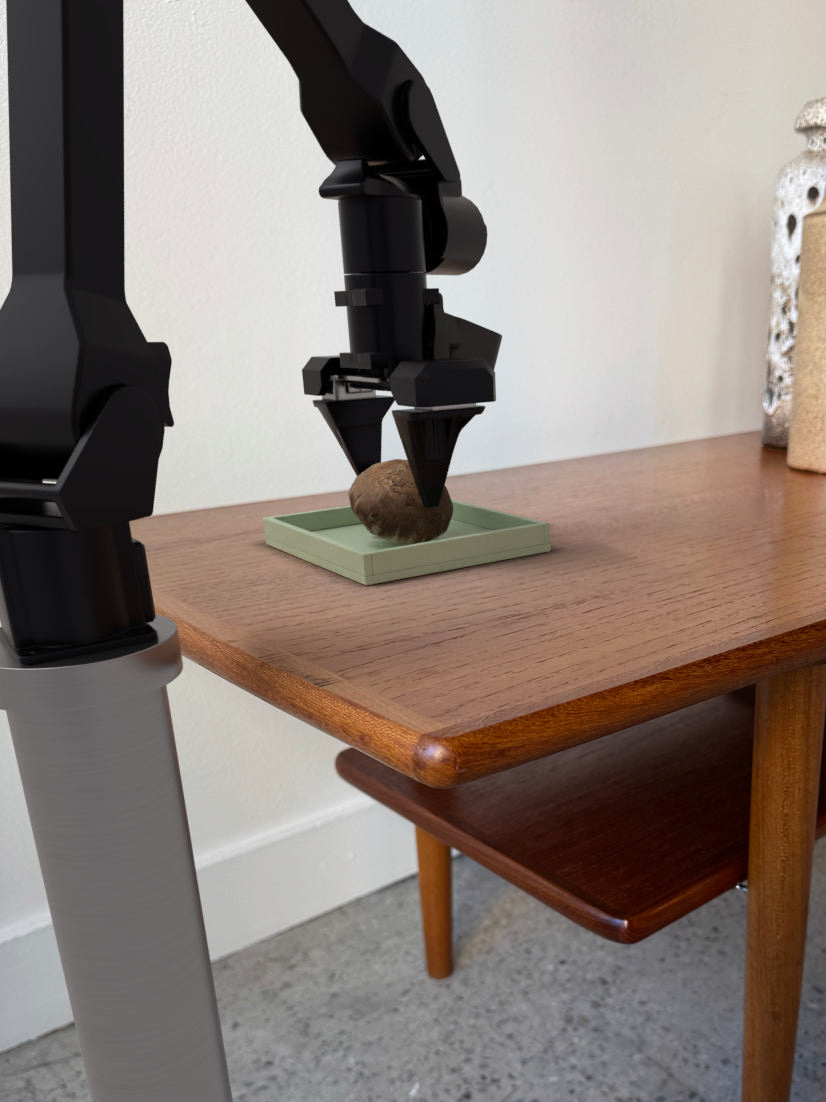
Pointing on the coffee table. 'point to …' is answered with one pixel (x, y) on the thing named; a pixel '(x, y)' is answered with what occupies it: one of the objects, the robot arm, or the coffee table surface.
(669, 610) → the coffee table surface
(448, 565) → the tray
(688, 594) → the coffee table surface
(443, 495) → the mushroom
